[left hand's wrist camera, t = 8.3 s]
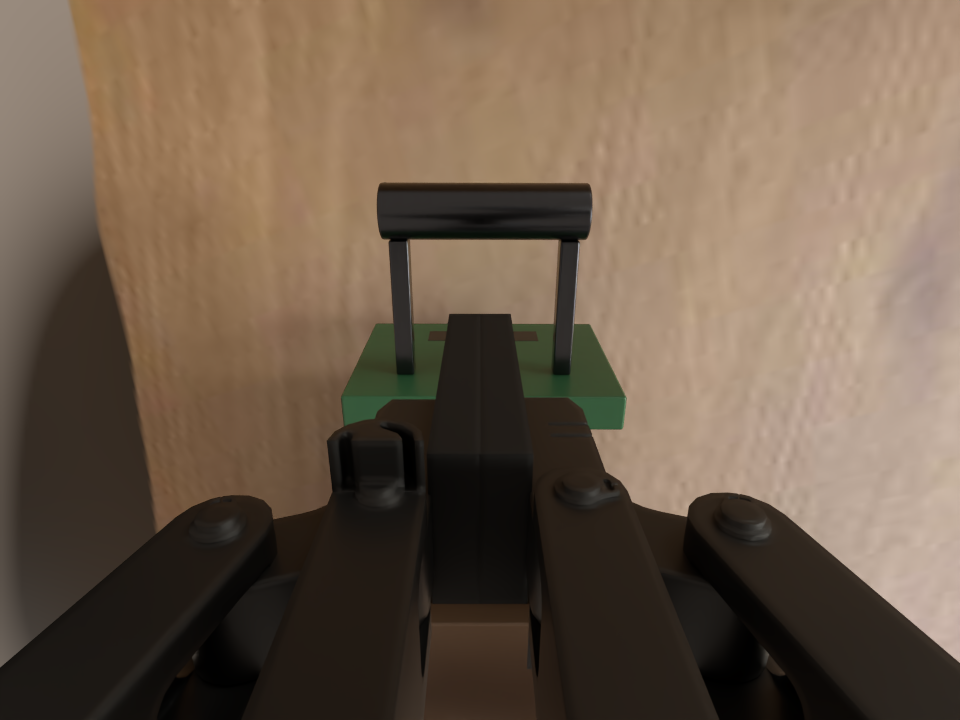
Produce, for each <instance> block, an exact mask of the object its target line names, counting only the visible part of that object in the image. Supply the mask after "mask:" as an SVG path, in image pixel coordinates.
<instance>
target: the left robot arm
mask: <svg viewBox="0 0 960 720" xmlns="http://www.w3.org/2000/svg"><path fill="white" fill-rule="evenodd" d="M327 446H328V455H329V464H330V473H331V482H332V491H333V492H332V494H331V497H330V499H329V502H328V504H327V505H326V506H324V507H321V508H319V509H317V510H313V511H310V512H306V513H303V514H298V515H293V516H288V517H283V518H278V519H274V520H273V516H272V510H271V508H270V507H269V506H268V505H267V504H266V503H265V502H264V500H261V499H258V498H255V497H252V496H240V495H230V496H223V497H218V498H213V499H210V500H208V501H205V502H203V503H200V504H198V505H195V506H193V507H191V508H189V509H188V510H186V511H185V512H183V513H182V514H180V515H179V516H177V517H176V518H175V519H173V520H172V521H171V522H170V523H169V524H168V525H166V526H165V527H164V528H163V529H162V530H160V531H159V532H158V533H157V534H156V535H155V536H153V537H152V538H151V539H150V540H149V541H148V542H146V543H145V544H144V545H143V546H142V547H141V548H139V549H138V550H137V551H136V552H135V553H134V554H132V555H131V556H130V557H129V558H128V559H127V560H125V561H124V562H123V563H122V564H121V565H120V566H119V567H117V568H116V569H115V570H114V571H113V572H111V573H110V574H109V575H108V576H107V577H106V578H104V579H103V580H102V581H101V582H100V583H99V584H97V585H96V586H95V587H94V588H93V589H92V590H90V591H89V592H88V593H87V594H86V595H85V596H83V597H82V598H81V599H80V600H79V601H78V602H76V603H75V604H74V605H73V606H72V607H71V608H69V609H68V610H67V611H66V612H65V613H64V614H62V615H61V616H60V617H59V618H58V619H57V620H55V621H54V622H53V623H52V624H51V625H50V626H48V627H47V628H46V629H45V630H44V631H42V632H41V633H40V634H39V635H38V636H37V637H35V638H34V639H33V640H32V641H31V642H30V643H28V644H27V645H26V646H25V647H24V648H23V649H21V650H20V651H19V652H18V653H17V654H16V655H14V656H13V657H12V658H11V659H10V660H9V661H8V662H6V663H5V664H4V665H3V666H2V667H0V720H424V709H425V698H426V687H427V676H428V666H429V655H430V644H431V633H432V629H431V597H432V604H528V594H529V603H530V605H529V629H528V653H527V669H532V675H533V686H534V697H535V708H536V719H537V720H960V663H959V662H958V661H957V660H956V659H954V658H953V657H952V656H951V655H950V654H948V653H947V652H946V651H945V650H944V649H943V648H941V647H940V646H939V645H938V644H937V643H936V642H934V641H933V640H932V639H931V638H930V637H928V636H927V635H926V634H925V633H924V632H923V631H921V630H920V629H919V628H918V627H917V626H915V625H914V624H913V623H912V622H911V621H910V620H908V619H907V618H906V617H905V616H904V615H903V614H901V613H900V612H899V611H898V610H897V609H895V608H894V607H893V606H892V605H891V604H890V603H888V602H887V601H886V600H885V599H884V598H882V597H881V596H880V595H879V594H878V593H877V592H875V591H874V590H873V589H872V588H871V587H870V586H868V585H867V584H866V583H865V582H864V581H862V580H861V579H860V578H859V577H858V576H857V575H855V574H854V573H853V572H852V571H851V570H849V569H848V568H847V567H846V566H845V565H844V564H842V563H841V562H840V561H839V560H838V559H837V558H835V557H834V556H833V555H832V554H831V553H829V552H828V551H827V550H826V549H825V548H824V547H822V546H821V545H820V544H819V543H818V542H816V541H815V540H814V539H813V538H812V537H811V536H809V535H808V534H807V533H806V532H805V531H804V530H802V529H801V528H800V527H799V526H798V525H796V524H795V523H794V522H793V521H792V520H791V519H789V518H788V517H787V516H786V515H785V514H783V513H782V512H780V511H778V510H777V509H775V508H774V507H772V506H771V505H769V504H767V503H765V502H762V501H760V500H757V499H754V498H752V497H750V496H746V495H742V494H740V495H739V494H736V493H710V494H707V495H704V496H701V497H698V498H696V499H695V500H694V501H693V502H692V503H691V504H690V506H689V510H688V516H687V517H684V516H679V515H674V514H669V513H665V512H660V511H656V510H652V509H648V508H645V507H642V506H640V505H638V504H635V503H633V502H632V501H631V499H630V496H629V494H628V491H627V490H626V488H625V487H624V486H623V484H622V483H621V482H620V481H619V480H618V479H616V478H615V477H613V476H611V475H610V474H608V473H606V472H605V469H604V466H603V463H602V461H601V458H600V455H599V452H598V450H597V447H596V444H595V441H594V439H593V437H592V433H591V431H590V428H589V425H588V422H587V420H586V417H585V414H584V411H583V409H582V408H581V407H579V406H578V405H577V404H576V403H574V402H573V401H572V400H571V399H569V398H568V397H524V393H523V387H522V381H521V375H520V369H519V363H518V357H517V351H516V344H515V338H514V332H513V326H512V320H511V314H449V320H448V326H447V332H446V338H445V344H444V351H443V357H442V363H441V369H440V375H439V381H438V387H437V393H436V399H392V400H391V401H389V402H388V403H387V404H386V405H384V406H383V407H382V408H381V409H379V410H378V411H377V414H376V416H375V419H367V420H362V421H359V422H355V423H351V424H348V425H346V426H344V427H342V428H341V429H339V430H337V431H335V432H334V433H333V434H332V435H331V437H330V438H329V439H328V440H327Z"/></svg>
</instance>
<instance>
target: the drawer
mask: <svg viewBox="0 0 960 720" xmlns="http://www.w3.org/2000/svg"><path fill="white" fill-rule="evenodd" d="M377 219H378V227H379V232H380V235H381V238H382V239H390V241H389V257H390V273H391V289H392V306H393V322H394V324H376V325H375V327H374V329H373V331H372V334H371V336H370V338H369V340H368V342H367V344H366V346H365V348H364V350H363V352H362V354H361V357H360V359H359V361H358V363H357V365H356V367H355V369H354V371H353V373H352V375H351V377H350V380H349V382H348V384H347V386H346V388H345V390H344V392H343V394H342V396H341V403H342V412H343V422H344V426H346V425H348V424H351V423H355V422H359V421H362V420H367V419H375V416H376V414H377V411H378V410H379V409H381V408H382V407H383V406H384V405H386V404H387V403H388V402H389V401H391V400H392V399H436V393H437V387H438V381H439V375H440V369H441V363H442V357H443V351H444V344H445V338H446V332H447V326H448V324H414V319H413V297H412V276H411V254H410V240H559V242H558V259H557V277H556V294H555V312H554V324H512V326H513V332H514V338H515V344H516V351H517V357H518V363H519V369H520V375H521V381H522V387H523V393H524V397H568V398H569V399H571V400H572V401H573V402H574V403H576V404H577V405H578V406H579V407H581V408H582V409H583V411H584V414H585V417H586V420H587V422H588V425H589V428H590V429H622V428H623V425H624V416H625V408H626V399H627V398H626V396H625V394H624V392H623V390H622V388H621V386H620V384H619V382H618V380H617V378H616V376H615V374H614V372H613V370H612V368H611V366H610V364H609V362H608V360H607V358H606V356H605V354H604V352H603V350H602V348H601V346H600V344H599V342H598V340H597V338H596V336H595V334H594V332H593V330H592V328H591V326H590V325H589V324H574V317H575V303H576V290H577V276H578V262H579V248H580V242H579V241H578V240H586V239H587V238H588V235H589V232H590V228H591V221H592V191H591V187H590V185H589V184H588V183H380V184H379V187H378V192H377ZM431 603H432V597H431ZM528 603H529V594H528Z"/></svg>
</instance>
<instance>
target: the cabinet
mask: <svg viewBox="0 0 960 720" xmlns="http://www.w3.org/2000/svg"><path fill="white" fill-rule="evenodd" d="M529 605H530V603H528V604H432V603H431V629H432V633H431V644H430V655H429V666H428V676H427V687H426V698H425V709H424V720H537V719H536V708H535V697H534V686H533V675H532V669H527V653H528V629H529Z"/></svg>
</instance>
